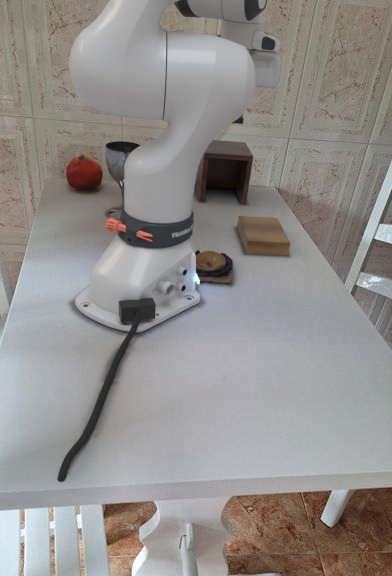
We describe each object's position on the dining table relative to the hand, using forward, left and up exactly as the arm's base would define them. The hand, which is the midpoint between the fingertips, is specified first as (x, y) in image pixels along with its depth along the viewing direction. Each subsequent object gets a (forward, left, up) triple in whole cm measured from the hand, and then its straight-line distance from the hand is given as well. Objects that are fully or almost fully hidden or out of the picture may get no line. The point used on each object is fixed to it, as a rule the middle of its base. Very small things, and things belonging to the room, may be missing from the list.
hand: (231, 105), depth 116 cm
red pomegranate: (-22, +27, -22) cm, 41 cm away
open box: (0, 0, -22) cm, 22 cm away
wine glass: (-28, +10, -22) cm, 37 cm away
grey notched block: (0, 0, -3) cm, 3 cm away
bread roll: (-38, -19, -22) cm, 48 cm away
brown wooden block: (-19, -21, -22) cm, 35 cm away
